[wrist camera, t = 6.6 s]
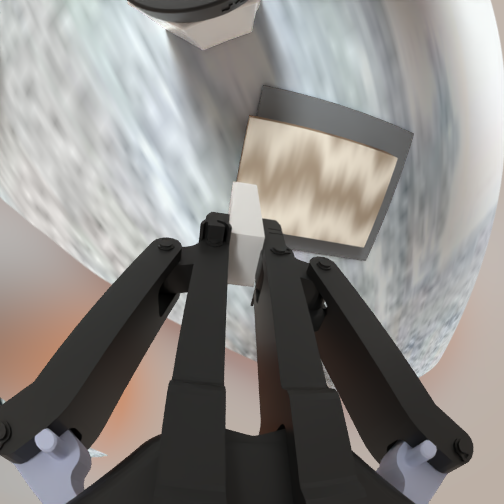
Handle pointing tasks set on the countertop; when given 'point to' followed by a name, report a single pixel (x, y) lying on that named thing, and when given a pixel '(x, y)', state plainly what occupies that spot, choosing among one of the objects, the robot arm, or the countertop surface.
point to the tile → (315, 180)
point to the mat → (347, 126)
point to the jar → (201, 18)
